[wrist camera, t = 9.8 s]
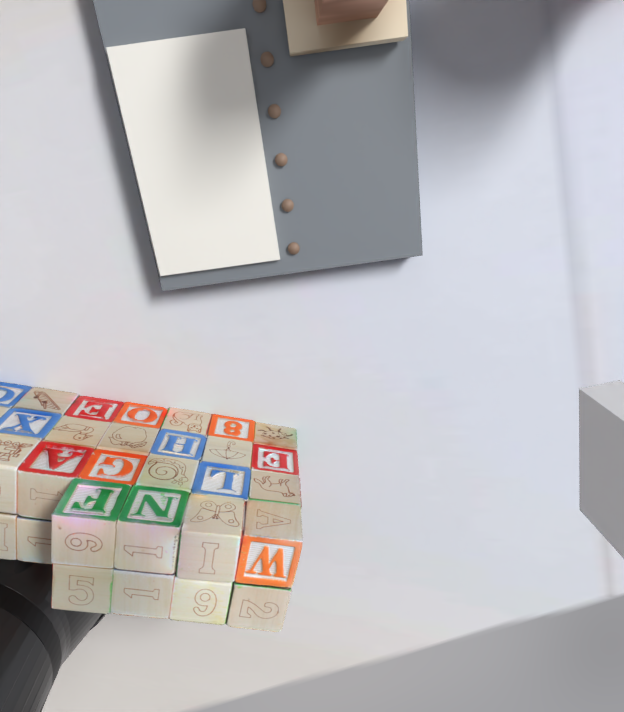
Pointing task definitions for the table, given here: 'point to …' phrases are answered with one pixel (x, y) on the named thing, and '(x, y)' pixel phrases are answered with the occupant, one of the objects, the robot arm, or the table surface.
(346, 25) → the stub
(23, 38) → the table surface
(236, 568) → the stack of blocks
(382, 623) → the table surface
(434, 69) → the table surface
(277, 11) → the board
